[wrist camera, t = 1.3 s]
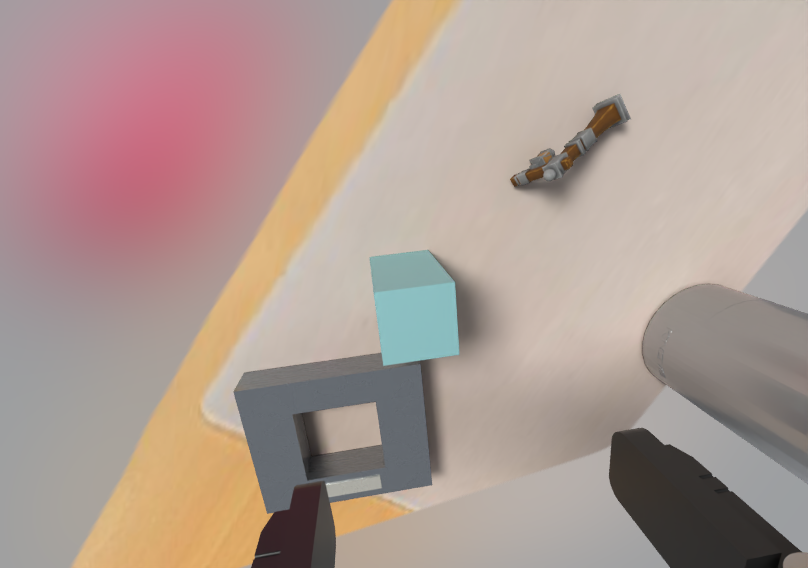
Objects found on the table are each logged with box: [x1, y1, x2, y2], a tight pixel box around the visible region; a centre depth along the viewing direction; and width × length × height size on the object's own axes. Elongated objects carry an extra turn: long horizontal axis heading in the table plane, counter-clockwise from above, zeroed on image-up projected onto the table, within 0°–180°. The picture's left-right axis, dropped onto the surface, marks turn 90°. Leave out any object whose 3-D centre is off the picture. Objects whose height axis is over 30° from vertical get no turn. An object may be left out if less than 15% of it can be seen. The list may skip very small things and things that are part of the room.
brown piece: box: [510, 94, 631, 187], centre depth 25 cm, size 2×8×4 cm, turn 125°
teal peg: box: [370, 250, 459, 366], centre depth 23 cm, size 4×4×8 cm
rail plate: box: [234, 353, 432, 514], centre depth 29 cm, size 13×11×3 cm
